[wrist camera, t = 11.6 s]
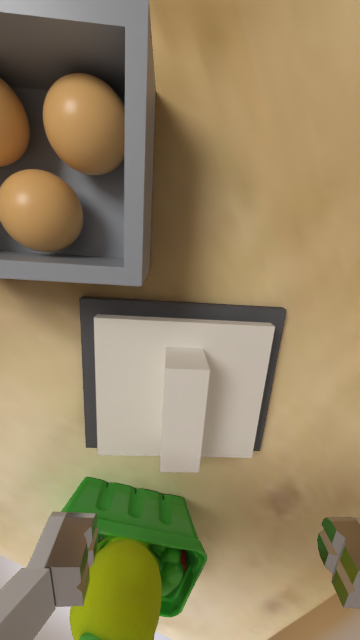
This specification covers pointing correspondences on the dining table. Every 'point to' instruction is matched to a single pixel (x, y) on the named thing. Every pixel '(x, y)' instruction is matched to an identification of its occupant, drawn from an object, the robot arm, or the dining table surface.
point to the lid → (179, 387)
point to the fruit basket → (135, 561)
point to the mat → (169, 310)
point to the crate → (76, 140)
